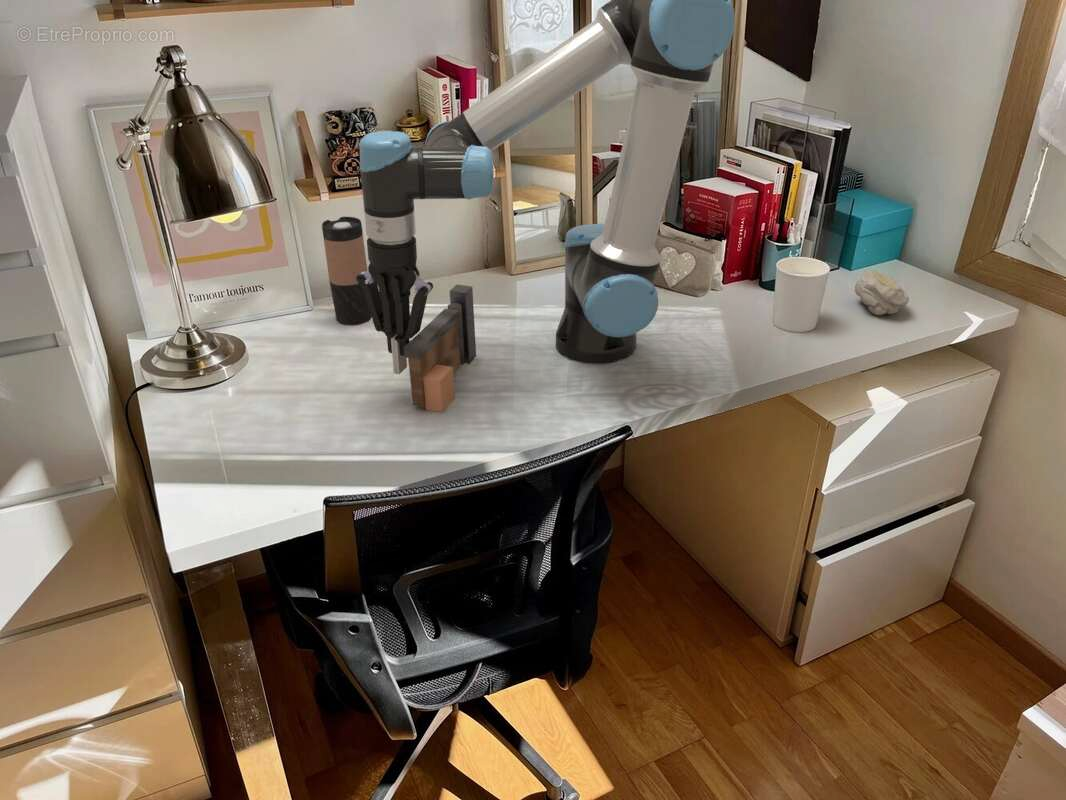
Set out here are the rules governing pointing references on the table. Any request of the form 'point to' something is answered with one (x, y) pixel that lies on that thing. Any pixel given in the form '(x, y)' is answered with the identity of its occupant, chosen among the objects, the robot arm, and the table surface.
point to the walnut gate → (435, 349)
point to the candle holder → (799, 293)
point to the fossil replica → (880, 293)
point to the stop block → (439, 388)
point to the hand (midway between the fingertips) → (400, 370)
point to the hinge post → (466, 318)
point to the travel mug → (346, 268)
